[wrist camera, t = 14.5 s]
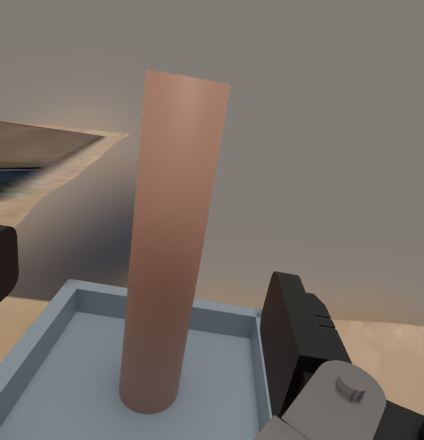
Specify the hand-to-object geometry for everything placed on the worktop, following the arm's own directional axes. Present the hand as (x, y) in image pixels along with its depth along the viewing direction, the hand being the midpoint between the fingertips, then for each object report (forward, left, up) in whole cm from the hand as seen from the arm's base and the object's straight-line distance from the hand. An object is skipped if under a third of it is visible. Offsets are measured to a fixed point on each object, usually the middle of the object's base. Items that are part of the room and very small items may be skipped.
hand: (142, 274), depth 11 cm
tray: (0, -6, -12) cm, 13 cm away
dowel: (0, -6, -11) cm, 12 cm away
